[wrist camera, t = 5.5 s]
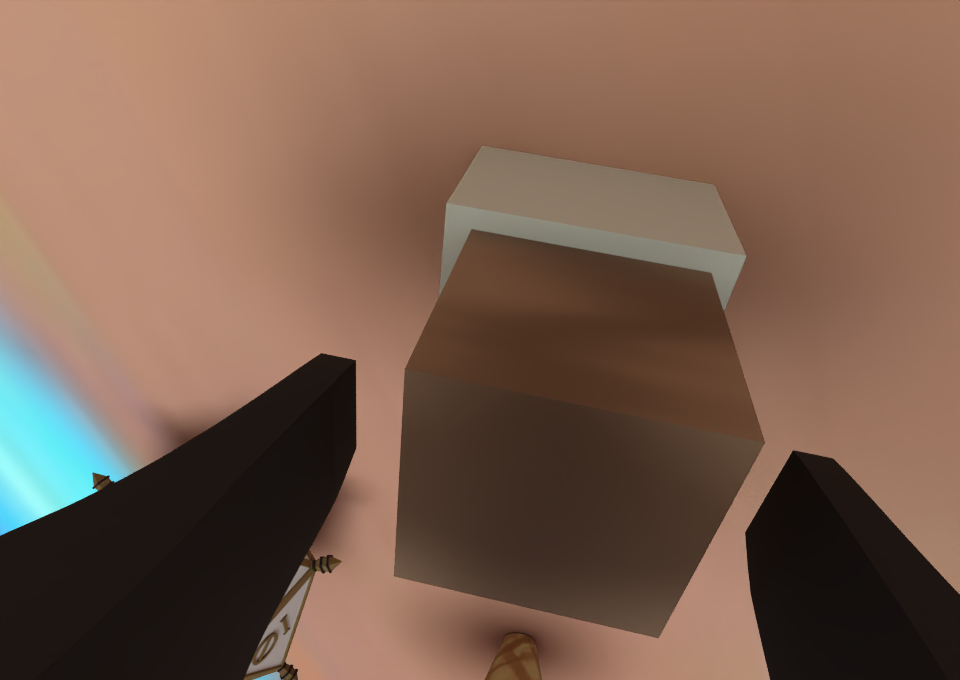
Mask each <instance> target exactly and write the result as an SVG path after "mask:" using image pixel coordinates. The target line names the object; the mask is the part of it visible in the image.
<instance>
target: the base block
mask: <svg viewBox="0 0 960 680" xmlns="http://www.w3.org/2000/svg"><path fill="white" fill-rule="evenodd" d="M471 229H474V230H480V231H485V232H490V233H496V234H501V235H507V236H512V237H518V238H523V239H529V240H534V241H540V242H545V243H551V244H556V245H562V246H567V247H572V248H578V249H583V250H589V251H594V252H600V253H605V254H611V255H616V256H622V257H627V258H633V259H638V260H644V261H649V262H654V263H660V264H665V265H671V266H676V267H682V268H687V269H693V270H698V271H704V272H709V273H712V276H713V279H714V282H715V285H716V289H717V292H718V295H719V298H720V301H721V305H722V308H723V311H724V310H725V308H726V305H727V303H728V300H729V298H730V295H731V293H732V291H733V288H734V286H735V283H736V281H737V278H738V276H739V274H740V271H741V269H742V266H743V264H744V261H745V259H746V254H745V251H744V249H743V247H742V245H741V243H740V240H739V238H738V236H737V234H736V231H735V229H734V227H733V225H732V223H731V220H730V218H729V216H728V214H727V211H726V209H725V207H724V205H723V203H722V200H721V198H720V196H719V194H718V192H717V189H716V187H715V185H714V184H708V183H702V182H696V181H690V180H684V179H678V178H672V177H666V176H660V175H654V174H648V173H642V172H637V171H631V170H625V169H619V168H613V167H607V166H601V165H595V164H589V163H583V162H577V161H571V160H565V159H559V158H554V157H548V156H542V155H536V154H530V153H524V152H518V151H512V150H506V149H500V148H494V147H488V146H481V148H480V150H479V151H478V153H477V155H476V156H475V158H474V159H473V161H472V163H471V164H470V166H469V167H468V169H467V171H466V172H465V174H464V176H463V177H462V179H461V180H460V182H459V184H458V185H457V187H456V188H455V190H454V192H453V193H452V195H451V197H450V198H449V200H448V201H447V203H446V215H445V227H444V239H443V251H442V263H441V274H440V286H439V296H440V294H441V292H442V290H443V288H444V286H445V284H446V282H447V280H448V277H449V275H450V273H451V271H452V269H453V267H454V265H455V263H456V261H457V259H458V256H459V254H460V252H461V250H462V248H463V246H464V244H465V242H466V240H467V238H468V235H469V233H470V231H471Z"/></svg>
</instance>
